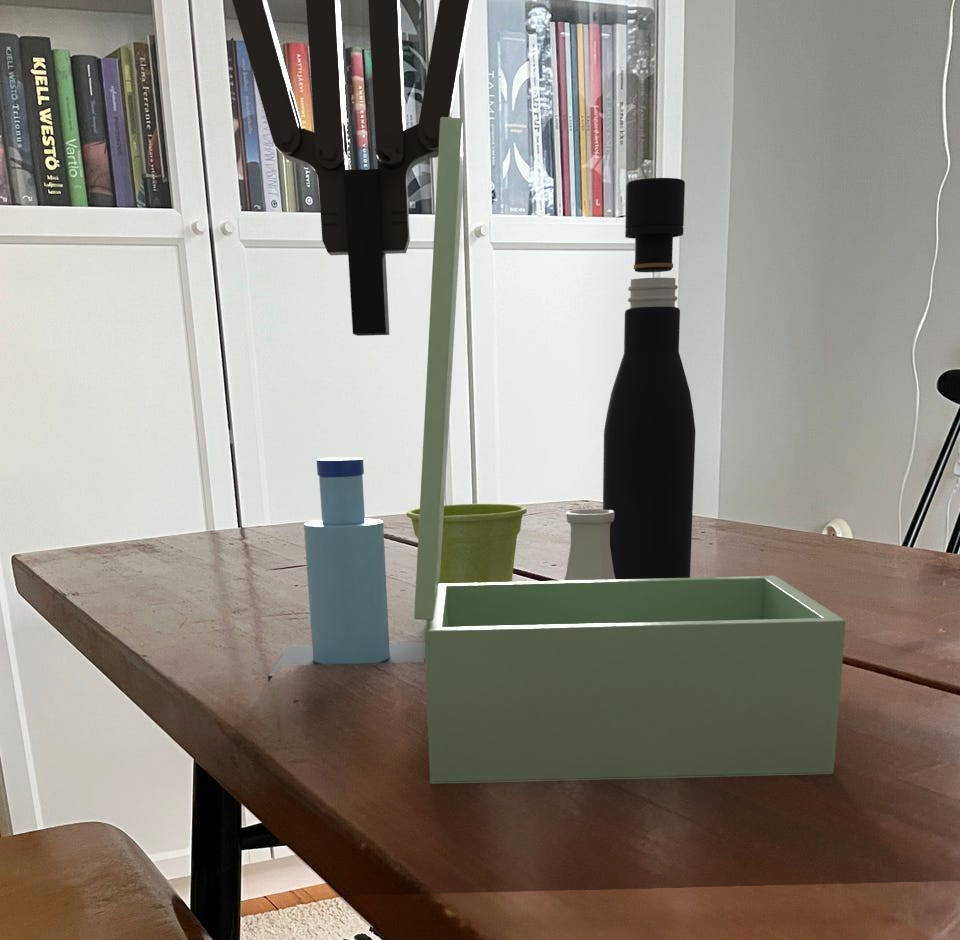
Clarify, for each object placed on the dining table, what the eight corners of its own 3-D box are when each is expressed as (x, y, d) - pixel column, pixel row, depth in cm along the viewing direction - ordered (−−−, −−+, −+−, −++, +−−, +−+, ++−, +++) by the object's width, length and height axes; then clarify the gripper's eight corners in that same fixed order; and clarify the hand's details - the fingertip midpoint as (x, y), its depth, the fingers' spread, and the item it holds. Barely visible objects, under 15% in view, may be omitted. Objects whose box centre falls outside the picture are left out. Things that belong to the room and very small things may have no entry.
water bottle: (391, 649, 88) (382, 455, 84) (387, 665, 84) (377, 460, 79) (317, 651, 88) (304, 457, 84) (309, 667, 84) (294, 462, 79)
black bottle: (583, 635, 94) (586, 184, 83) (640, 624, 98) (650, 191, 87) (648, 647, 89) (660, 171, 79) (705, 634, 93) (724, 179, 83)
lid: (463, 172, 61) (446, 170, 61) (462, 117, 49) (440, 116, 49) (440, 575, 68) (424, 574, 68) (433, 620, 55) (413, 619, 55)
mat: (427, 648, 91) (427, 642, 91) (423, 679, 81) (422, 672, 81) (289, 652, 91) (288, 645, 91) (268, 683, 81) (267, 676, 81)
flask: (554, 652, 89) (554, 505, 85) (655, 657, 86) (659, 506, 83) (519, 674, 82) (518, 516, 79) (627, 680, 80) (630, 518, 76)
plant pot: (409, 633, 97) (405, 516, 94) (412, 611, 105) (407, 504, 102) (531, 629, 97) (530, 513, 94) (523, 608, 106) (522, 501, 103)
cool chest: (767, 715, 71) (775, 575, 68) (832, 789, 58) (846, 620, 55) (437, 723, 71) (432, 583, 68) (430, 799, 58) (423, 630, 56)
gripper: (147, -367, 46) (213, 336, 54) (506, -378, 46) (517, 327, 54) (190, -268, 53) (242, 340, 61) (501, -277, 53) (511, 333, 61)
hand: (371, 333), depth 58 cm, fingers closed
